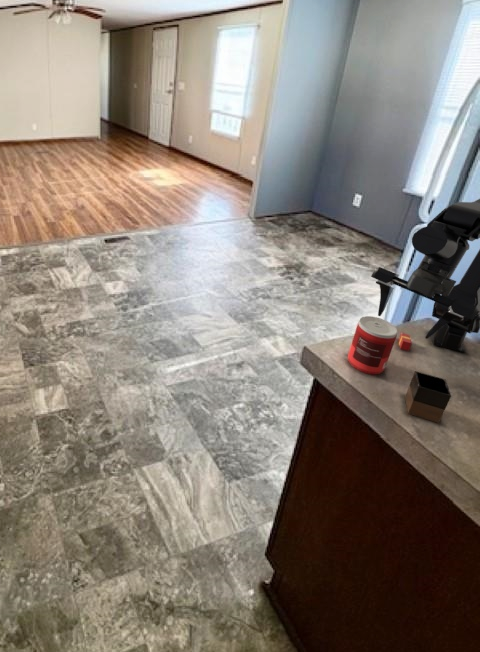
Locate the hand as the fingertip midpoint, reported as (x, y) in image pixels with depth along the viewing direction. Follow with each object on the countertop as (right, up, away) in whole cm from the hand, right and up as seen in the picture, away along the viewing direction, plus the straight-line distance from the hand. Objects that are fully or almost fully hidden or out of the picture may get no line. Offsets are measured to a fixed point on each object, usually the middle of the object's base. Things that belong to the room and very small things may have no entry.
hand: (401, 326), depth 92 cm
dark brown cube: (+1, -16, -5) cm, 17 cm away
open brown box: (+1, -13, -6) cm, 14 cm away
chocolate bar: (+11, -8, +15) cm, 20 cm away
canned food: (-3, -11, +8) cm, 14 cm away
